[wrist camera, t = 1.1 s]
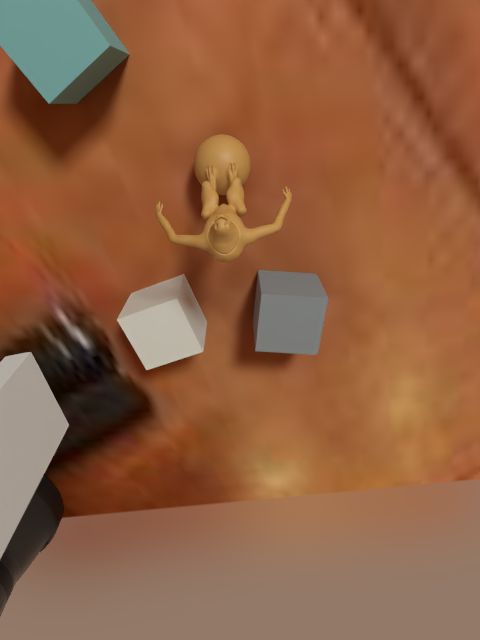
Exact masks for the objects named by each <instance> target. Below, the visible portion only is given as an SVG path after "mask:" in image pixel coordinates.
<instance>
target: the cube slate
mask: <svg viewBox="0 0 480 640" xmlns="http://www.w3.org/2000/svg"><path fill="white" fill-rule="evenodd" d="M327 302H328V297H327V294H326V292H325V290H324V288H323V286H322V284H321V282H320V280H319V278H318V276H317V274H310V273H296V272H281V271H266V270H258V275H257V285H256V295H255V304H254V314H253V331H254V343H255V351H260V352H278V353H295V354H312V355H317V354H318V349H319V344H320V338H321V333H322V328H323V323H324V318H325V313H326V307H327Z"/></svg>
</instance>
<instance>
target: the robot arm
mask: <svg viewBox="0 0 480 640" xmlns="http://www.w3.org/2000/svg"><path fill="white" fill-rule="evenodd" d="M68 426H69V424H68V422H67V420H66V418H65V416H64V414H63V413H62V411H61V409H60V407H59V405H58V403H57V401H56V399H55V397H54V395H53V393H52V391H51V390H50V388H49V386H48V384H47V382H46V380H45V378H44V376H43V374H42V372H41V370H40V368H39V366H38V365H37V363H36V361H35V359H34V357H33V355H32V353H31V352H27V353H22V354H17V355H11V356H6V357H5V358H4V359H3V360H2V361H1V362H0V616H1V614H2V612H3V609H4V607H5V605H6V603H7V600H8V598H9V596H10V594H11V592H12V590H13V587H14V585H15V584H16V582H17V581H18V580H19V578H20V577H21V576H22V575H23V573H24V572H25V571H26V570H27V568H28V567H29V566H30V564H31V563H32V561H33V560H34V559H35V557H36V556H37V555H38V553H39V552H41V551H42V550H43V549H44V548H45V547H46V546H47V545H48V544H49V543H50V541H51V540H52V538H53V537H54V535H55V533H56V530H57V528H58V526H59V523H60V521H61V519H62V515H63V502H62V499H61V496H60V494H59V492H58V490H57V489H56V488H55V486H54V485H53V484H52V483H51V482H50V481H49V480H48V479H47V478H46V477H45V476H44V473H45V471H46V469H47V467H48V465H49V463H50V461H51V459H52V457H53V456H54V454H55V452H56V450H57V448H58V446H59V444H60V442H61V440H62V438H63V436H64V434H65V432H66V430H67V428H68Z"/></svg>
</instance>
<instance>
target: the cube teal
mask: <svg viewBox="0 0 480 640" xmlns="http://www.w3.org/2000/svg"><path fill="white" fill-rule="evenodd" d="M0 46H1V47H2V48H3V49H4V51H5V52H6V53H7V54H8V55H9V57H10V58H11V59H12V60H13V61H14V63H15V64H16V65H17V66H18V67H19V69H20V70H21V71H22V72H23V73H24V75H25V76H26V77H27V78H28V79H29V81H30V82H31V83H32V84H33V86H34V87H35V88H36V89H37V90H38V92H39V93H40V94H41V95H42V96H43V98H44V99H45V100H46V101H47V102H48V104H77V103H78V102H79V101H80V100H81V99H82V98H83V97H84V96H86V95H87V94H88V93H89V92H90V91H91V90H92V89H93V88H94V87H95V86H96V85H97V84H98V83H100V82H101V81H102V80H103V79H104V78H105V77H106V76H107V75H108V74H109V73H110V72H111V71H112V70H113V69H115V68H116V67H117V66H118V65H119V64H120V63H121V62H122V61H123V60H124V59H125V58H126V57H127V56H128V55H130V54H129V53H128V51H127V50H126V49H125V47H124V46H123V44H122V43H121V41H120V40H119V39H118V37H117V36H116V34H115V33H114V32H113V30H112V29H111V27H110V26H109V25H108V23H107V22H106V20H105V19H104V18H103V16H102V15H101V13H100V12H99V11H98V9H97V8H96V6H95V5H94V4H93V2H92V1H91V0H0Z"/></svg>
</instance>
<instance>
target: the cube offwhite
mask: <svg viewBox="0 0 480 640" xmlns="http://www.w3.org/2000/svg"><path fill="white" fill-rule="evenodd" d="M117 321H118V322H119V324H120V326H121V328H122V329H123V331H124V333H125V334H126V336H127V338H128V340H129V341H130V343H131V345H132V346H133V348H134V350H135V351H136V353H137V355H138V357H139V358H140V360H141V362H142V363H143V365H144V367H145V369H146V370H149V369H152V368H155V367H158V366H162V365H165V364H168V363H171V362H174V361H177V360H180V359H183V358H186V357H189V356H192V355H195V354H198V353H201V352H203V350H204V342H205V334H206V327H207V321H206V319H205V317H204V315H203V313H202V311H201V308H200V306H199V304H198V302H197V300H196V298H195V296H194V294H193V292H192V289H191V287H190V285H189V283H188V281H187V279H186V277H185V275H184V274H182V275H180V276H177V277H174V278H171V279H169V280H166V281H163V282H160V283H158V284H155V285H152V286H150V287H147V288H144V289H141V290H139V291H136V292H133V293H131V295H130V297H129V298H128V300H127V302H126V304H125V306H124V307H123V309H122V311H121V313H120V315H119V317H118V318H117Z"/></svg>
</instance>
